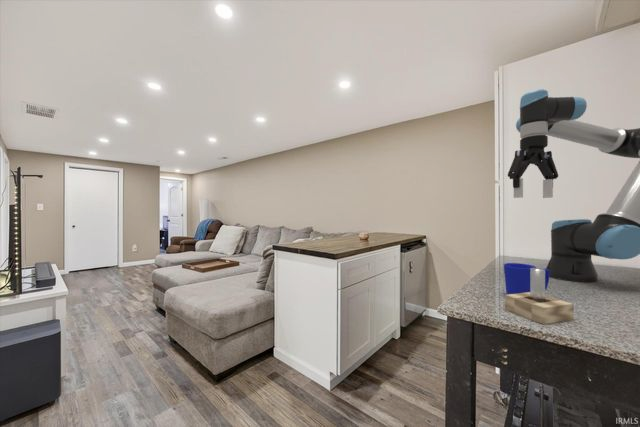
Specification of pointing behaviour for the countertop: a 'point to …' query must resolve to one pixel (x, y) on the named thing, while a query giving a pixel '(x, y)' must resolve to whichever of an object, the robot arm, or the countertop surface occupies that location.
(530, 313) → the hole block
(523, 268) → the mug
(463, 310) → the countertop surface
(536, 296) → the peg
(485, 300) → the countertop surface
